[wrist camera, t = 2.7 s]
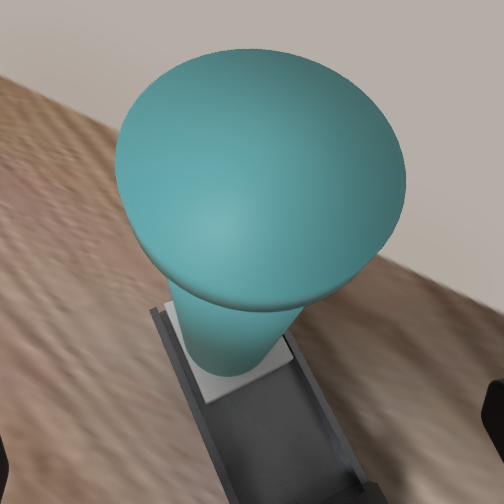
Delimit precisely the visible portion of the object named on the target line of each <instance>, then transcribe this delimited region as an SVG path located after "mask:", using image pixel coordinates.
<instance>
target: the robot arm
mask: <svg viewBox="0 0 504 504" xmlns="http://www.w3.org/2000/svg"><path fill="white" fill-rule="evenodd" d="M481 418H482V422H483V425H484V427H485V429H486V431H487V433H488V435H489V437H490V439H491V440H492V442H493V444H494V446H495V448H496V450H497V452H498V453H499V455H500V457H501V459H502V461H503V463H504V379H499V380H493V381H492V382H491V383H490V384H489V386H488V389H487V393H486V396H485V400H484V403H483V407H482V411H481ZM8 473H9V463H8V459H7V455H6V452H5V449H4V445H3V442H2V439H1V436H0V503H1V500H2V496H3V493H4V489H5V486H6V482H7V478H8Z"/></svg>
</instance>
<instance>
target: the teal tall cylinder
mask: <svg viewBox="0 0 504 504" xmlns="http://www.w3.org/2000/svg"><path fill="white" fill-rule="evenodd" d="M115 174H116V180H117V185H118V190H119V193H120V196H121V199H122V202H123V205H124V208H125V210H126V213H127V216H128V218H129V221H130V224H131V226H132V229H133V232H134V234H135V236H136V238H137V240H138V242H139V244H140V246H141V248H142V249H143V251H144V252H145V254H146V255H147V256H148V258H149V259H150V260H151V262H152V263H153V264H154V265H155V266H156V267H157V268H158V269H159V270H160V271H161V272H162V273H163V275H164V276H166V277H167V280H168V284H169V288H170V292H171V295H172V299H173V300H172V301H169V302H167V303H165V304H164V306H165V309H166V312H167V315H168V317H169V319H170V322H171V324H172V326H173V329H174V331H175V333H176V336H177V338H178V340H179V342H180V345H181V347H182V349H183V352H184V354H185V356H186V359H187V361H188V363H189V366H190V368H191V370H192V373H193V375H194V377H195V380H196V382H197V384H198V387H199V389H200V391H201V394H202V396H203V398H204V401H205V403H206V405H207V404H209V403H211V402H213V401H215V400H217V399H219V398H221V397H223V396H225V395H227V394H229V393H231V392H233V391H235V390H237V389H239V388H241V387H243V386H245V385H247V384H249V383H251V382H252V381H254V380H256V379H258V378H260V377H262V376H264V375H266V374H268V373H270V372H272V371H274V370H276V369H278V368H280V367H282V366H284V365H286V364H287V363H288V362H290V361H291V360H292V359H293V356H292V354H291V352H290V350H289V348H288V346H287V344H286V342H285V340H284V338H283V337H282V335H283V334H284V332H285V331H286V330H287V329H288V327H289V326H290V325H291V324H292V322H293V321H294V320H295V319H296V317H297V316H298V315H299V314H300V312H301V311H302V310H303V309H304V307H305V306H308V305H310V304H313V303H315V302H318V301H320V300H323V299H324V298H326V297H328V296H330V295H331V294H333V293H335V292H337V291H338V290H339V289H341V288H342V287H343V286H345V285H346V284H347V283H348V282H350V281H351V280H352V279H353V278H354V277H355V276H356V275H357V274H358V272H359V271H360V270H361V269H362V268H363V267H364V266H365V265H366V264H367V263H368V262H369V261H370V260H371V259H372V258H373V257H374V256H375V255H376V254H377V253H378V251H380V250H381V249H382V247H383V246H384V244H385V243H386V242H387V240H388V239H389V237H390V236H391V234H392V233H393V230H394V228H395V226H396V224H397V222H398V220H399V218H400V214H401V211H402V207H403V204H404V198H405V190H406V172H405V165H404V160H403V155H402V152H401V149H400V146H399V142H398V140H397V138H396V136H395V134H394V131H393V129H392V127H391V126H390V124H389V123H388V121H387V119H386V118H385V116H384V115H383V113H382V112H381V111H380V110H379V108H378V107H377V106H376V105H375V104H374V102H373V101H372V100H371V99H370V98H369V97H368V96H367V95H366V94H365V93H364V92H363V91H362V90H360V89H359V88H358V87H357V86H355V85H354V84H353V83H352V82H350V81H349V80H348V79H346V78H344V77H343V76H341V75H340V74H338V73H336V72H335V71H333V70H331V69H329V68H327V67H325V66H323V65H321V64H319V63H316V62H314V61H311V60H309V59H306V58H303V57H300V56H296V55H292V54H289V53H284V52H278V51H272V50H262V49H236V50H227V51H220V52H215V53H211V54H207V55H203V56H200V57H197V58H194V59H191V60H189V61H187V62H185V63H182V64H180V65H178V66H176V67H174V68H173V69H171V70H169V71H168V72H167V73H165V74H163V75H162V76H160V77H159V78H158V79H157V80H156V81H154V82H153V83H152V84H151V85H149V86H148V87H147V89H146V90H145V91H144V92H143V93H142V94H141V95H140V96H139V97H138V99H137V100H136V101H135V103H134V104H133V106H132V107H131V108H130V110H129V112H128V114H127V116H126V118H125V120H124V122H123V124H122V127H121V130H120V133H119V136H118V140H117V146H116V153H115Z"/></svg>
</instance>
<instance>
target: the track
mask: <svg viewBox="0 0 504 504" xmlns="http://www.w3.org/2000/svg"><path fill="white" fill-rule="evenodd" d="M149 311H150V313H151V315H152V318H153V320H154V323H155V325H156V327H157V330H158V332H159V335H160V337H161V340H162V342H163V344H164V347H165V349H166V352H167V354H168V356H169V359H170V361H171V364H172V366H173V368H174V371H175V373H176V376H177V378H178V380H179V383H180V385H181V388H182V390H183V392H184V395H185V397H186V400H187V402H188V404H189V407H190V409H191V412H192V414H193V416H194V419H195V421H196V424H197V426H198V429H199V431H200V433H201V436H202V438H203V441H204V443H205V445H206V448H207V450H208V453H209V455H210V457H211V460H212V462H213V465H214V467H215V469H216V472H217V474H218V477H219V479H220V481H221V484H222V486H223V489H224V491H225V493H226V496H227V498H228V501H229V503H230V504H388V503H387V501H386V499H385V497H384V495H383V494H382V492H381V490H380V488H379V486H378V484H377V483H373V482H370V481H369V480H368V478H367V476H366V474H365V472H364V470H363V468H362V467H361V465H360V463H359V461H358V459H357V457H356V455H355V453H354V451H353V449H352V447H351V446H350V444H349V442H348V440H347V438H346V436H345V434H344V432H343V430H342V428H341V426H340V425H339V423H338V421H337V419H336V417H335V415H334V413H333V411H332V409H331V407H330V405H329V404H328V402H327V400H326V398H325V396H324V394H323V392H322V390H321V388H320V386H319V384H318V383H317V381H316V379H315V377H314V375H313V373H312V371H311V369H310V367H309V365H308V363H307V362H306V360H305V358H304V356H303V354H302V352H301V350H300V348H299V346H298V344H297V342H296V341H295V339H294V337H293V335H292V333H291V331H290V329H289V327H288V329H287V330H286V331H285V332H284V334H283V335H282V337H283V338H284V340H285V342H286V344H287V346H288V348H289V350H290V352H291V354H292V356H293V359H292V360H291V361H290V362H288V363H287V364H286V365H284V366H282V367H280V368H278V369H276V370H274V371H272V372H270V373H268V374H266V375H264V376H262V377H260V378H258V379H256V380H254V381H252V382H251V383H249V384H247V385H245V386H243V387H241V388H239V389H237V390H235V391H233V392H231V393H229V394H227V395H225V396H223V397H221V398H219V399H217V400H215V401H213V402H211V403H209V404H207V405H206V403H205V401H204V398H203V396H202V394H201V391H200V389H199V387H198V384H197V382H196V380H195V377H194V375H193V373H192V370H191V368H190V366H189V363H188V361H187V359H186V356H185V354H184V352H183V349H182V347H181V345H180V342H179V340H178V338H177V336H176V333H175V331H174V329H173V326H172V324H171V322H170V319H169V317H168V315H167V312H166V310H165V311H163V312H161V313H159V312H158V310H157V307H155V308H153V309H150V310H149Z"/></svg>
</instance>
